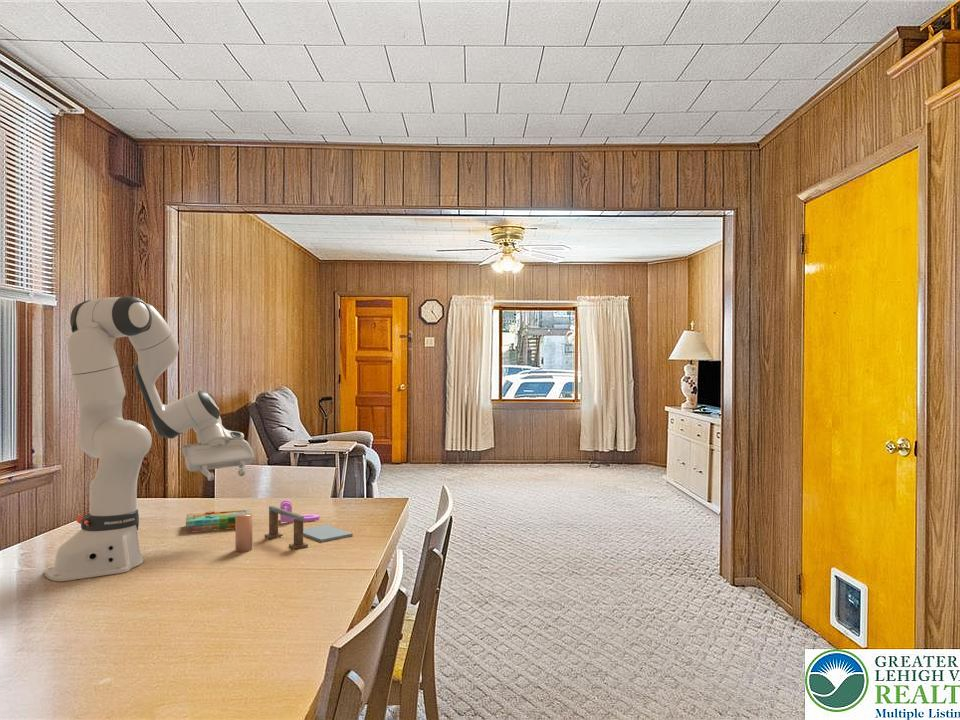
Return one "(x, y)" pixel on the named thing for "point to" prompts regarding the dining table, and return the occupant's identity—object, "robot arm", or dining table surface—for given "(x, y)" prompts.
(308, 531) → the pad
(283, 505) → the bracket
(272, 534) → the hurdle posts
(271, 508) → the metal bar
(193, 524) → the puzzle game
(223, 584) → the dining table surface
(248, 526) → the terracotta cylinder
